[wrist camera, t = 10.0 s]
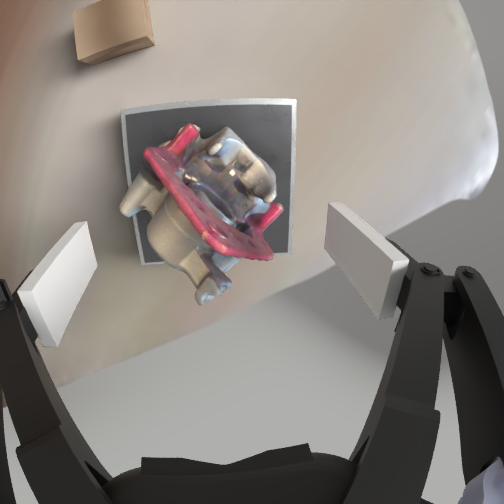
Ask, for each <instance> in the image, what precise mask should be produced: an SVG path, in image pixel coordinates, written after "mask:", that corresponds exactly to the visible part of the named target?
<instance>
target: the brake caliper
mask: <svg viewBox="0 0 504 504" xmlns="http://www.w3.org/2000/svg"><path fill="white" fill-rule="evenodd" d="M199 131H200V128H199V127H197V126H196V125H193V124H191V123H188V124H187V125H185V126H184V127H182V128H180V129H179V132H178V134H177V135H176V137H175V138H174V139H172V140H171V141H168V142H165V143H163V144H161V145H160V146H159V147H147V148H146V149H145V150H144V154H143V155H144V158H145V159H146V161H145V163H144V164H143V166H142V168H141V170H140V172H139V173H138V175H137V177H136V178H135V180H134V181H133V182H132V184H131V186H130V187H129V189H128V190H127V192H126V193H125V195H124V197H123V199H122V201H121V203H120V205H119V210H120V212H121V213H122V214H123V215H124V216H126V217H131V216H133V215H134V214H136V213H138V212H139V211H141V210H147V211H149V213H150V214H151V216H152V219H151V221H150V222H149V224H148V226H147V238H148V241H149V243H150V245H151V247H152V248H153V250H154V251H155V252H156V253H157V254H158V256H159V257H160V258H161V259H162V260H163V261H165V262H166V263H167V264H168V265H170V266H171V267H173V268H175V269H177V270H180V271H183V272H185V273H186V274H187V275H188V276H189V278H190V279H191V281H192V282H193V284H194V285H195V287H196V288H197V290H196V292H195V299H196V302H197V303H198V304H199V305H203V304H204V301H211V300H212V299H214V298H215V297H216V296H220V295H221V293H222V292H224V291H225V290H227V289H228V288H230V287H231V286H232V281H231V280H230V279H229V278H228V277H227V276H225V274H224V273H223V272H226V271H228V270H229V269H230V268H231V267H232V266H233V265H234V264H235V263H237V262H238V261H239V260H241V259H243V258H247V259H251V260H254V259H257V260H260V261H261V260H265V261H269V260H272V259H273V257H274V254H273V251H272V249H271V248H270V247H269V245H268V243H267V242H266V241H265V240H264V238H263V231H264V230H265V229H266V228H267V227H268V226H269V225H270V224H271V223H272V222H273V221H274V220H275V219H276V218H277V217H278V216H279V215H280V214H281V213H282V212H283V206H282V205H281V204H280V203H275V202H272V201H273V200H274V199H275V197H276V175H275V172H274V171H273V169H272V168H271V167H270V166H269V165H268V164H267V163H266V162H265V161H264V160H263V159H261V158H260V157H259V156H257V155H256V154H255V153H253V152H252V151H251V150H250V149H249V148H248V146H247V145H246V144H245V143H244V142H243V141H242V140H241V139H240V138H239V137H238V136H237V135H236V134H235V133H234V132H233V131H232V130H231V129H230V128H228V127H224V128H223V129H222V130H221V131H219V132H217V133H216V134H214V135H213V136H211V137H209V138H207V139H202V138H201V137H200V134H199Z"/></svg>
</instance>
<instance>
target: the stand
mask: <svg viewBox="0 0 504 504" xmlns="http://www.w3.org/2000/svg"><path fill="white" fill-rule="evenodd" d="M121 123H122V136H123V147H124V157H125V166H126V174H127V182H128V189H129V187H130V186H131V184H132V182H133V181H134V180H135V178H136V177H137V175H138V173H139V172H140V170H141V168H142V166H143V164H144V163H145V161H146V159H145V158H144V155H143V154H144V150H145V149H146V148H147V147H159V146H160V145H161V144H163V143H165V142H168V141H171V140H172V139H174V138H175V137H176V135H177V134H178V132H179V129H180V128H182V127H184V126H185V125H187V124H188V123H191V124H193V125H196V126H197V127H199V128H200V131H199V134H200V137H201V138H202V139H207V138H209V137H211V136H213V135H214V134H216V133H217V132H219V131H221V130H222V129H223V128H224V127H228V128H230V129H231V130H232V131H233V132H234V133H235V134H236V135H237V136H238V137H239V138H240V139H241V140H242V141H243V142H244V143H245V144H246V145H247V146H248V148H249V149H250V150H251V151H252V152H253V153H255V154H256V155H257V156H259V157H260V158H261V159H263V160H264V161H265V162H266V163H267V164H268V165H269V166H270V167H271V168H272V169H273V171H274V172H275V175H276V197H275V199H274V200H273V201H272V202H275V203H280V204H281V205H282V206H283V212H282V213H281V214H280V215H279V216H278V217H277V218H276V219H275V220H274V221H273V222H272V223H271V224H270V225H269V226H268V227H267V228H266V229H265V230H264V231H263V238H264V240H265V241H266V242H267V243H268V245H269V247H270V248H271V249H272V251H273V254H274V256H275V255H288V254H292V236H293V215H294V190H295V157H296V99H268V98H246V99H215V100H198V101H185V102H175V103H165V104H157V105H149V106H142V107H135V108H128V109H122V110H121ZM151 219H152V216H151V214H150V213H149V211H147V210H141V211H139V212H138V213H136V214H134V215H133V222H134V228H135V234H136V239H137V245H138V250H139V255H140V260H141V265H153V264H167V263H166V262H165V261H163V260H162V259H161V258H160V257H159V256H158V254H157V253H156V252H155V251H154V250H153V248H152V247H151V245H150V243H149V241H148V238H147V226H148V224H149V222H150V221H151Z"/></svg>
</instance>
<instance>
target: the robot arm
mask: <svg viewBox="0 0 504 504" xmlns="http://www.w3.org/2000/svg"><path fill="white" fill-rule="evenodd" d="M324 248H325V250H326V251H327V252H328V254H329V255H330V256H331V257H332V259H333V260H334V261H335V263H336V264H337V265H338V267H339V268H340V269H341V270H342V272H343V273H344V274H345V276H346V277H347V278H348V280H349V281H350V282H351V284H352V285H353V286H354V287H355V289H356V290H357V292H358V293H359V294H360V296H361V297H362V298H363V300H364V301H365V303H366V304H367V305H368V307H369V308H370V310H371V311H372V312H373V313H374V315H375V316H376V318H377V319H378V320H381V319H386V318H391V317H393V315H394V312H395V309H396V306H398V307H399V308H400V309H401V314H400V317H399V320H398V323H397V326H396V328H395V336H394V340H393V343H392V347H391V350H390V354H389V357H388V360H387V364H386V367H385V370H384V373H383V377H382V380H381V382H380V385H379V388H378V391H377V394H376V397H375V399H374V403H373V405H372V408H371V410H370V413H369V416H368V418H367V421H366V423H365V426H364V428H363V430H362V433H361V435H360V438H359V440H358V442H357V445H356V446H355V449H354V451H353V452H352V454H351V456H350V458H349V460H347V459H345V458H342V457H339V456H336V455H331V454H326V453H312V452H311V451H310V448H309V445H308V443H306V444H301V445H296V446H292V447H286V448H281V449H274V450H268V451H265V452H262V453H260V454H257V455H254V456H252V457H249V458H246V459H243V460H240V461H237V462H234V463H231V464H227V465H220V464H213V463H207V462H201V461H195V460H190V459H185V458H150V457H142V460H141V467H139V468H135V469H132V470H129V471H126V472H124V473H122V474H120V475H118V476H116V477H114V478H112V476H111V475H110V474H109V473H108V472H107V471H106V470H105V468H104V467H103V466H102V465H101V463H100V462H99V460H98V459H97V458H96V456H95V454H94V453H93V451H92V450H91V448H90V447H89V445H88V444H87V443H86V441H85V439H84V437H83V436H82V435H81V433H80V431H79V429H78V428H77V426H76V424H75V423H74V421H73V419H72V418H71V416H70V414H69V412H68V410H67V409H66V407H65V405H64V403H63V401H62V399H61V398H60V395H59V393H58V392H57V390H56V388H55V386H54V383H53V381H52V379H51V377H50V375H49V373H48V371H47V369H46V366H45V364H44V362H43V359H42V357H41V355H40V352H39V350H38V348H37V346H36V344H35V340H36V338H37V336H38V337H39V339H40V341H41V343H42V345H43V347H58V345H59V343H60V341H61V338H62V336H63V334H64V332H65V330H66V327H67V325H68V323H69V321H70V319H71V317H72V315H73V313H74V310H75V308H76V306H77V304H78V302H79V300H80V298H81V296H82V294H83V293H84V291H85V289H86V287H87V285H88V283H89V281H90V279H91V277H92V276H93V274H94V272H95V270H96V268H97V266H98V265H97V262H96V258H95V254H94V250H93V246H92V242H91V238H90V233H89V229H88V224H87V221H84V222H76V223H74V224H73V225H72V226H71V227H70V228H69V230H68V231H67V232H66V233H65V234H64V235H63V236H62V237H61V238H60V239H59V241H58V242H57V243H56V244H55V245H54V246H53V247H52V249H51V250H50V251H49V252H48V253H47V254H46V256H45V257H44V258H43V259H42V260H41V262H40V263H39V264H38V265H37V266H36V268H34V269H33V270H32V271H30V272H29V274H28V275H27V276H26V277H25V279H24V280H23V281H22V282H21V284H20V285H19V286H18V288H17V289H16V290H15V292H14V293H13V294H12V295H11V293H10V290H9V288H8V285H7V283H6V281H5V280H4V279H0V504H16V500H15V497H14V492H13V488H12V483H11V478H10V472H9V466H8V460H7V453H6V446H5V435H4V423H3V402H2V388H3V392H4V396H5V399H6V403H7V406H8V409H9V412H10V415H11V419H12V421H13V424H14V427H15V430H16V433H17V435H18V438H19V441H20V444H21V445H20V446H19V447H17V448H16V454H17V458H18V460H19V463H20V465H21V467H22V469H23V472H24V474H25V476H26V479H27V481H28V483H29V485H30V487H31V489H32V491H33V493H34V495H35V497H36V499H37V501H38V503H39V504H433V503H431V502H429V501H426V500H424V499H422V498H421V496H422V492H423V489H424V486H425V483H426V479H427V475H428V472H429V468H430V465H431V460H432V456H433V452H434V448H435V444H436V438H437V433H438V429H439V424H440V412H439V411H437V410H434V408H435V400H436V394H437V387H438V380H439V372H440V363H441V352H442V339H444V343H445V348H446V352H447V357H448V361H449V366H450V371H451V377H452V382H453V388H454V393H455V400H456V406H457V414H458V423H459V432H460V443H461V457H462V467H463V474H464V479H465V484H466V487H465V489H464V492H463V497H462V498H460V500H459V502H458V504H504V316H503V314H502V312H501V310H500V308H499V306H498V304H497V302H496V300H495V299H494V297H493V295H492V293H491V291H490V290H489V288H488V286H487V284H486V283H485V281H484V279H483V277H482V276H481V274H480V273H479V272H478V271H476V270H475V269H474V268H472V267H470V266H468V267H467V266H459V267H458V268H457V269H456V272H455V275H454V276H446V275H444V274H443V272H442V270H441V269H440V268H438V267H436V266H434V265H432V264H429V263H418V262H417V261H415V260H414V259H413V258H412V257H411V256H410V255H409V254H407V253H405V251H404V250H403V249H401V248H400V247H399V246H398V245H397V244H396V243H394V242H393V241H391V240H389V239H387V238H384V237H383V236H382V235H380V234H379V233H378V232H377V231H376V230H374V229H373V228H372V227H371V226H370V225H368V224H367V223H366V222H365V221H364V220H362V219H361V218H360V217H359V216H357V215H356V214H355V213H354V212H352V211H351V210H350V209H349V208H347V207H346V206H345V205H344V204H342V203H328V214H327V225H326V235H325V245H324Z"/></svg>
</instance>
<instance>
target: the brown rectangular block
mask: <svg viewBox="0 0 504 504" xmlns="http://www.w3.org/2000/svg"><path fill="white" fill-rule="evenodd" d="M73 23H74V34H75V43H76V51H77V58H78V61H81V62H85V63H88V64H92V65H95V64H98V63H101V62H103V61H106V60H109V59H112V58H114V57H117V56H120V55H123V54H126V53H129V52H132V51H136V50H139V49H142V48H146V47H149V46H153V45H155V42H154V36H153V29H152V23H151V16H150V9H149V2H148V0H101V1H98V2H96V3H93V4H91V5H88V6H86V7H84V8H81V9H79V10H77V11H75V12H73Z"/></svg>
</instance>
